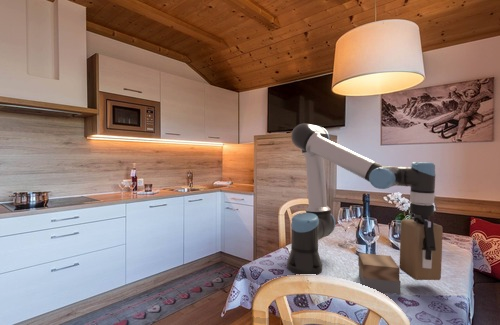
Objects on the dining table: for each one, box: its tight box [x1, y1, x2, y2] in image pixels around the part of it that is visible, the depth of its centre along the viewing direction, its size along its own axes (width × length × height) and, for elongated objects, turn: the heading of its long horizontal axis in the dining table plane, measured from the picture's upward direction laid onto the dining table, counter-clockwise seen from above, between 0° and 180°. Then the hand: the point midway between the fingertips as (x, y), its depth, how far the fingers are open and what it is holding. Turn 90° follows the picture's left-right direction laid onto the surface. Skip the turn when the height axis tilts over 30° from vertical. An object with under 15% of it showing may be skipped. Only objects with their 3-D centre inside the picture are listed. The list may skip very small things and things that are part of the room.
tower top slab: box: [357, 252, 401, 282], centre depth 101 cm, size 12×12×5 cm
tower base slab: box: [358, 267, 402, 295], centre depth 102 cm, size 12×12×5 cm
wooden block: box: [399, 218, 444, 281], centre depth 99 cm, size 10×10×20 cm
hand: (419, 261), depth 99 cm, fingers closed on wooden block, 11 cm apart
